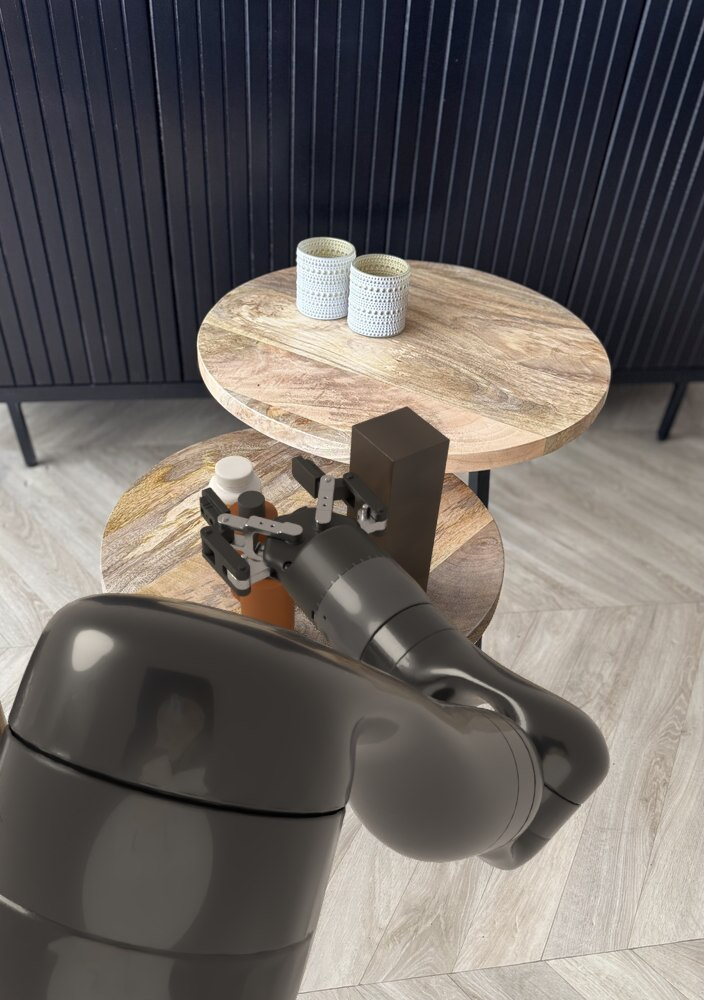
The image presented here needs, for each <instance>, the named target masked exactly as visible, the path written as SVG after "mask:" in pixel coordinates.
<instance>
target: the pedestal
mask: <svg viewBox="0 0 704 1000" xmlns="http://www.w3.org/2000/svg"><path fill="white" fill-rule="evenodd" d="M350 433H351V434H350V451H349V466H348V467H349V469H348V472H352V473H355V474H356V475H357V476H358V477H359V478H360V479H361V480H362V481H363V482H364V483H365V484H366V486H367V487H368V488H369V489H370V490H371V491H372V492H373V493H374V494H375V495H376V496H377V497H378V498H379V499H380V500H381V501H382V503H383V504H384V505H385V506H386V507H387V508H388V519H387V528H386V534H385V535H384V536H383V537H376V536H374V535H372V533H369V535H370V536H371V537H372V538H373V539H374V540H375V541H376V542H377V543H378V544H379V545H380V546H381V547H382V548H383V549H384V550H385V551H386V552H387V553H388V554H389V555H390V556H391V557H392V558H393V559H394V560H395V561H396V562H397V563H398V564H399V565H400V566H401V567H402V568H403V569H404V570H405V571H406V572H407V573H408V574H409V575H410V576H411V577H412V578H413V579H414V580H415V581H416V582H417V583H418V584H419V585H420V586H421V588H422V589H423V590H424V592H425V593H426V594H427V591H428V584H429V578H430V572H431V566H432V560H433V559H432V558H433V553H434V545H435V539H436V532H437V527H438V522H439V521H438V520H439V514H440V507H441V501H442V496H443V488H444V481H445V476H446V469H447V468H446V467H447V462H448V456H449V450H450V443H451V439H450V438H449V437H447V436H446V435H445V434H443V433H442V432H441V431H440V430H438V429H437V428H436V427H435V426H434V425H432V424H431V423H429V422H428V421H427V420H425V418H423V417H422V416H421V415H419V414H418V413H417V412H416V411H415V410H413V409H412V408H410V407H409V406H407V405H406V406H403V407H400V408H397V409H394V410H392V411H389V412H386V413H383V414H381V415H378V416H374V417H372V418H369V419H367V420H363V421H360V422H357V423H355V424H353V425H351V432H350ZM346 516H349V517H352V518H354V519H356V520H357V517H356V515H355V514H354V513H353V512H352V511H351V510H350V509H349V508H348V506H347V505H346Z"/></svg>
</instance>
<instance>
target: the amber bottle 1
mask: <svg viewBox="0 0 704 1000" xmlns="http://www.w3.org/2000/svg"><path fill="white" fill-rule="evenodd" d="M229 509H230V511H231V515H235V516H239V517H243V518H247V519H248V518H250V517H251V516H257V517H261V518H265V519H269V520H272V519H273V518H276V517H278V516H279V513H278V509H277V507H276V506H275V505H274V504H272V503H271V502H270V501H267V500H266V496H265V494H263V492H262V493H260V492H258V491H246V492H243V493H241V494H240V495H239V497H238V502H236V503H234V504H233V505H231V506H230V507H229ZM234 534H238V535H242V536H244V535H243V534H242V533H240V532H237V531H234ZM265 538H266V535H264V534H260V533H259V541H260V543H265ZM235 550H236V549H235ZM236 551H237V552H238V553H239V554H240V555H242V554H244V552H242V551H240V550H236ZM230 592H231V595H232V596H233V597H234V599H236V600H237V601H238V602H240V603H241V600H240V596H238V595H236V594H235V592H234V591H233V590H232V589H231V588H230Z"/></svg>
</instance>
